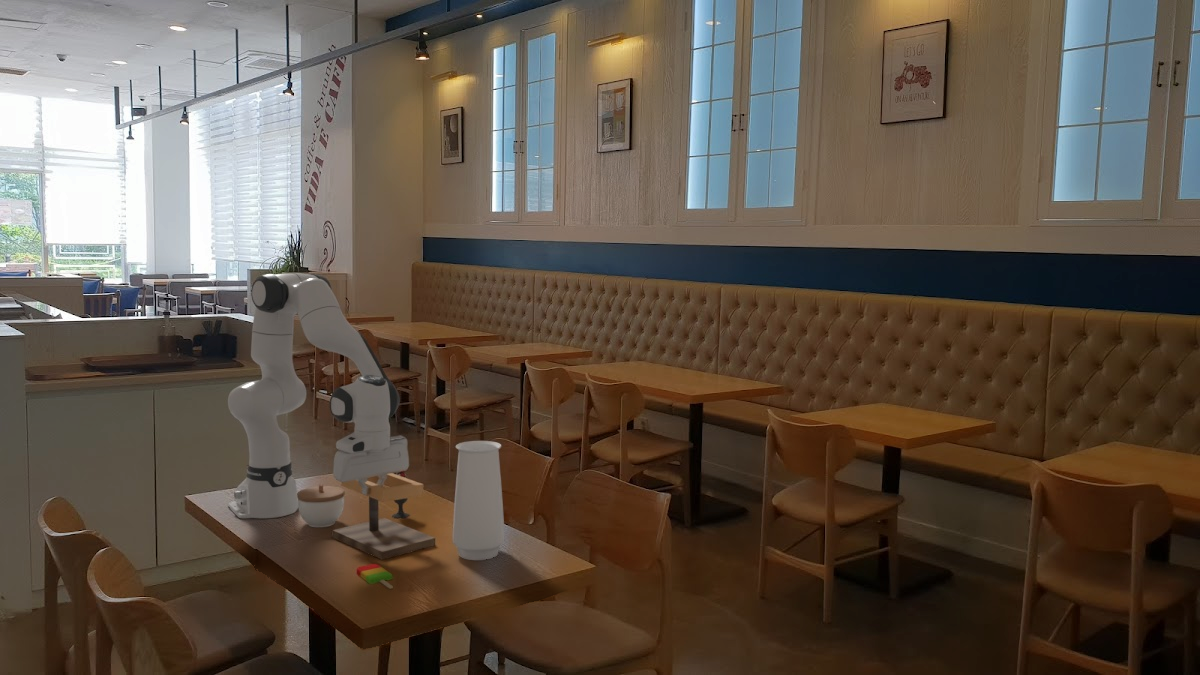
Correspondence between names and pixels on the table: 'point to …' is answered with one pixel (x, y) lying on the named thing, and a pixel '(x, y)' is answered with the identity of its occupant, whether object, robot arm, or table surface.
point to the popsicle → (374, 574)
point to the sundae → (401, 501)
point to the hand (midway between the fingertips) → (372, 492)
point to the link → (388, 488)
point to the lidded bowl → (321, 505)
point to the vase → (478, 501)
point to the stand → (382, 536)
